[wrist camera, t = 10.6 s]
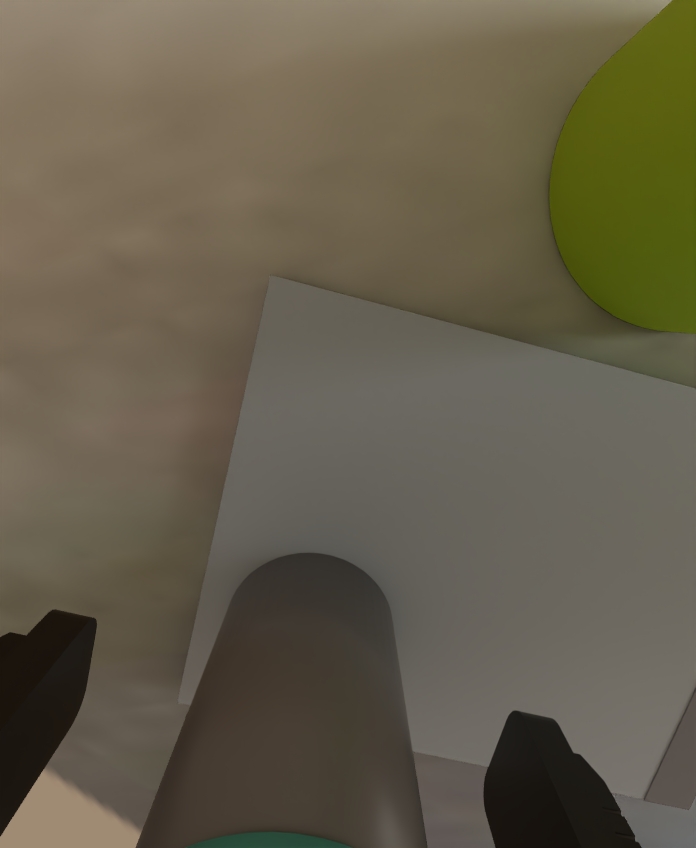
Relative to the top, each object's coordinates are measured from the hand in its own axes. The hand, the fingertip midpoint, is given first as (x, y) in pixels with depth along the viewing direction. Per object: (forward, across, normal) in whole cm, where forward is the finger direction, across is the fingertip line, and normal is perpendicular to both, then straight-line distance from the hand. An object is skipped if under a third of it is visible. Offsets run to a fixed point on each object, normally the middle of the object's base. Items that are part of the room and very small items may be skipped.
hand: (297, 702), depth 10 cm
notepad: (+3, -4, -2) cm, 5 cm away
